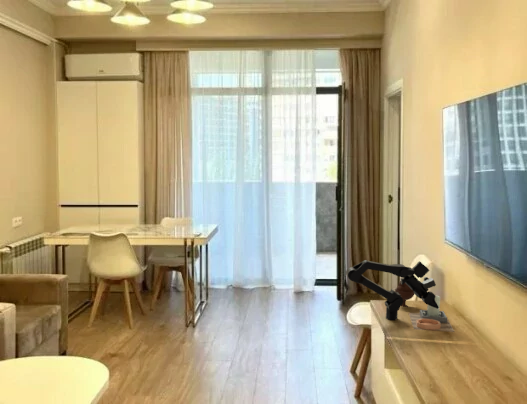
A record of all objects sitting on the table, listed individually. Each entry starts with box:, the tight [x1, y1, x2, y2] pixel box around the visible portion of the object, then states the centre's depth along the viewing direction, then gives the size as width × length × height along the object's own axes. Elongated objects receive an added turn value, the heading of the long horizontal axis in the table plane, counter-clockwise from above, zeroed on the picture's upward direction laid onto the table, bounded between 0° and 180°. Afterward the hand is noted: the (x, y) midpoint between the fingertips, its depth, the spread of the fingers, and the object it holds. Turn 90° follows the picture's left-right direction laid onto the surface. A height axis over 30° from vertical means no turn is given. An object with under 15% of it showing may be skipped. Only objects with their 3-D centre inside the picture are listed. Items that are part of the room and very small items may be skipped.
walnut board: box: [408, 312, 456, 333], centre depth 298 cm, size 29×19×1 cm, turn 171°
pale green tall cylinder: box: [426, 294, 441, 317], centre depth 303 cm, size 6×6×12 cm
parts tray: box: [419, 309, 448, 323], centre depth 304 cm, size 12×12×3 cm
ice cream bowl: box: [394, 281, 415, 308], centre depth 328 cm, size 11×11×15 cm
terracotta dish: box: [416, 319, 441, 331], centre depth 291 cm, size 11×11×2 cm
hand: (435, 305), depth 303 cm, fingers open, 9 cm apart
